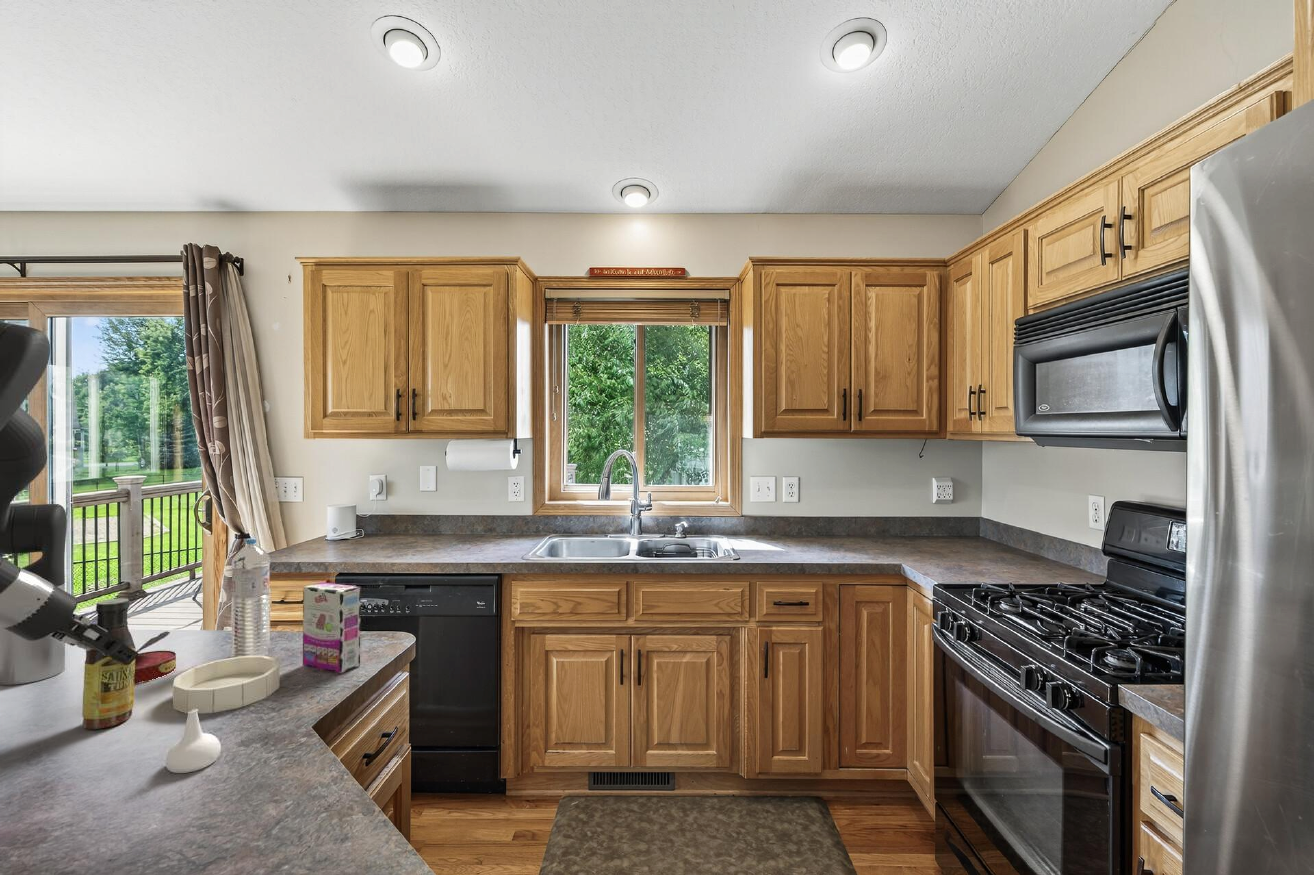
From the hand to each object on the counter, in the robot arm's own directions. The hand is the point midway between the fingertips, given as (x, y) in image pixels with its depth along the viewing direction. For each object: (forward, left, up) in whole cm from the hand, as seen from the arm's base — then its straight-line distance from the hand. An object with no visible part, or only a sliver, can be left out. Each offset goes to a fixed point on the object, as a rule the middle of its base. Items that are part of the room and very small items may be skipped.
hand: (121, 655), depth 101 cm
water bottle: (-9, +26, -11) cm, 30 cm away
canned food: (-18, +11, -11) cm, 24 cm away
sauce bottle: (0, -2, -11) cm, 11 cm away
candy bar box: (+11, +30, -11) cm, 34 cm away
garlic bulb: (+26, -3, -11) cm, 28 cm away
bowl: (+6, +13, -10) cm, 18 cm away
